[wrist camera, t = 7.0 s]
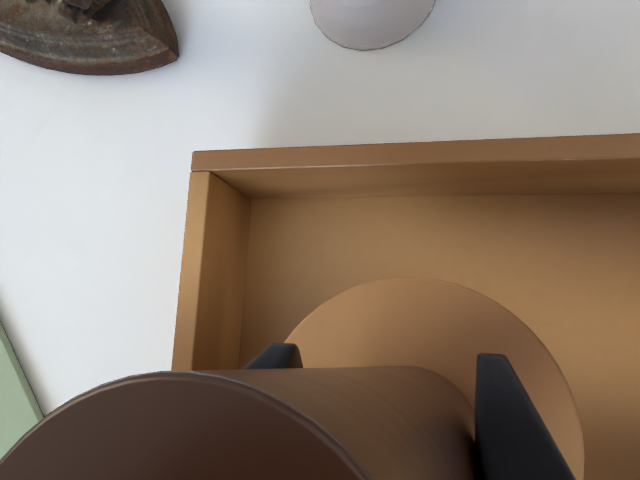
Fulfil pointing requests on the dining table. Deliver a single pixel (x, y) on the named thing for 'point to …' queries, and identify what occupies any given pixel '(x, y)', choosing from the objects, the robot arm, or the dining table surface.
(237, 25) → the dining table surface
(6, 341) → the mat
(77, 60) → the clothes iron
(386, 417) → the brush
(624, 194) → the tray
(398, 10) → the chalice
